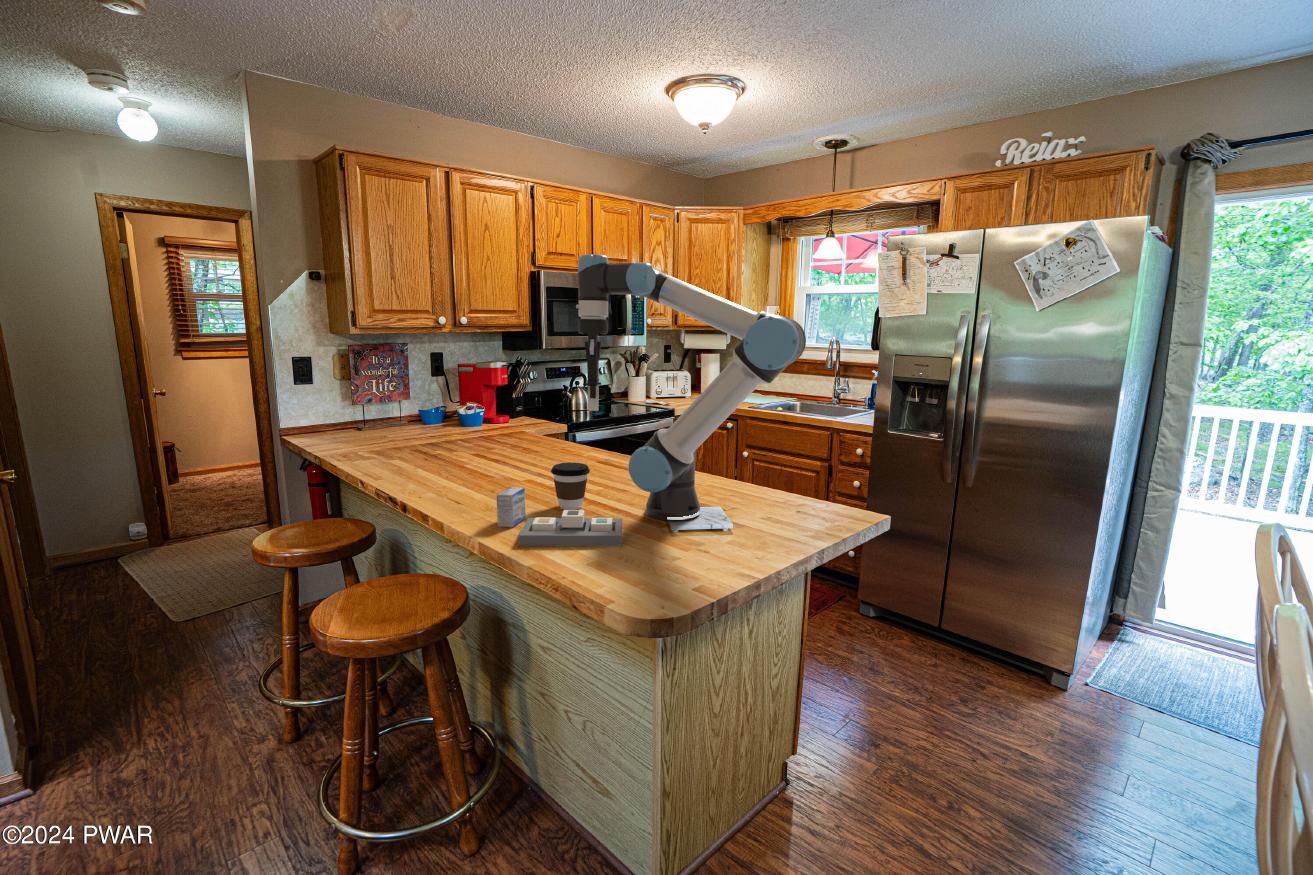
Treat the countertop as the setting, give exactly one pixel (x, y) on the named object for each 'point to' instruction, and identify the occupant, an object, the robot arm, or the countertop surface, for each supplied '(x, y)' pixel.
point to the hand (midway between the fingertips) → (593, 410)
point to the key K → (573, 518)
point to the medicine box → (511, 507)
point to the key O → (601, 524)
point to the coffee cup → (570, 484)
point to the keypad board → (571, 535)
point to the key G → (544, 524)
